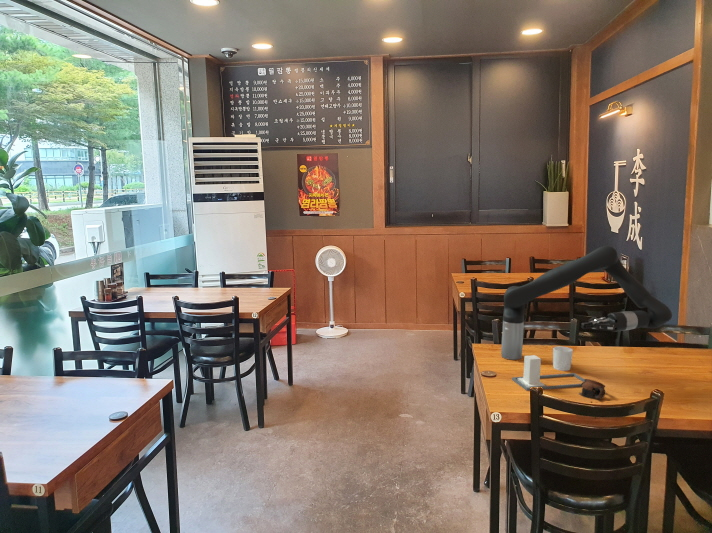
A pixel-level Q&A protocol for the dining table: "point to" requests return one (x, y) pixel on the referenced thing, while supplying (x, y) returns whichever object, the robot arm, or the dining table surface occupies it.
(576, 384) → the grey rectangular frame
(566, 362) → the white cup
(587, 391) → the dark brown lump
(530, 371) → the slider post
